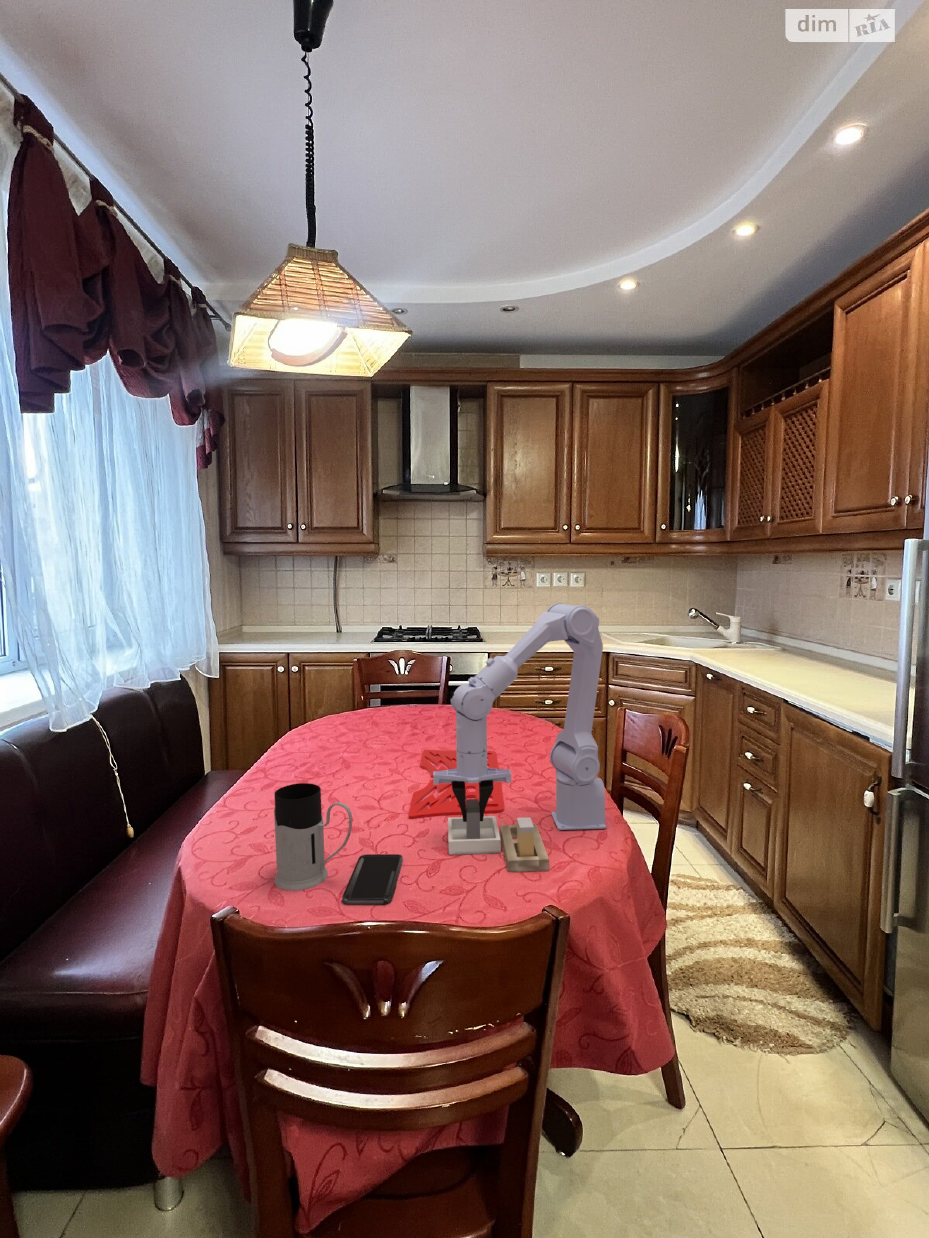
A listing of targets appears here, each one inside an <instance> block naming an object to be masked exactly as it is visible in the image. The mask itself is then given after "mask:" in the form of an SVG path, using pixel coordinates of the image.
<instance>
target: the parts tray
mask: <svg viewBox="0 0 929 1238" xmlns="http://www.w3.org/2000/svg"><path fill="white" fill-rule="evenodd" d="M497 822H498V821H497V817H496V815H494V816H493V815H489V816H488V815H487V816H483V821H480V839H467V836H466V822H463V816H459V817H457V816H456V817H447V835H448V836H447V838H448V839H447V840H448V843H447V844H448V856H451V855H452V856H455V855H458V856H459V855H461V856H462V855H486V854H487V855H489V854H491V855H492V854H501V853H502V852H501V850H502V848H501V845H502V842H501V837H500V829H499V826H498V823H497Z"/></svg>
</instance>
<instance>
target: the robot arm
mask: <svg viewBox="0 0 929 1238" xmlns="http://www.w3.org/2000/svg"><path fill="white" fill-rule="evenodd" d="M599 626H600V617H598V616H597V614H596V613H595V612H594V611H593V610H592V609H591V608H590V607H588V606H587V605H576V604H574V605H573V604H568V603H567V604H566V603H563V602H556V603H553V604H552V605H550V606H549V607H548V608H547V610H546V611H544V612H542V613H541V614H540V615H539V616H538V618H537V621H536V622H535V623H534V624H533V625H532V626H531V627H530V628H529V629H528V630H527V632H526V633H525V634H524V635H523V636H522V637H521V638H520V639H519V640H518V641H517V642H516V643H515V645H514V646H513V647H512V648H511V649H510V650H509V651H508V652H506V654H505V655H495V656H494V657H489V658H488V659H487V660H486V661H485V663H486V665H485V666H484V667H483V668H482V669H481V670H480V671H479V672H477V673H476V675H474V676H470V678H468V680H467V681H468V683H465V684H461V685H459V686H458V687H457V688H456V689H455V691H454V692H453V695H452V698H450V705H451V706H452V708H453V710H454V711H455V718H456V723H455V724H456V725H455V733H456V735H455V738H456V739H455V741H456V743H455V745H456V747H455V748H456V751H457V769H451V770H450V769H449V770H444V771H434V772H433V778H432V779H433V784H434V785H439V783H452V790H453V793H454V795H455V797H456V799H457V801H458V803H459V806H460V809H461V812H462V815H461V817H463V822H467V815H466V792H467V789H466V790H465V783H478V782H479V806H480V821H483V816H484V815H485V814H484V812H485V808H486V805H487V802H489V800H490V798H489V797H490V795H491V794H492V791H493V788H494V787H493V782H501V783H502V782H503V783H504V782H505V783H507V784H510V783H512V772H511V769H509V768H508V769H506V768H505V769H504V768H499V769H494V768H489V767H488V766H487V761H488V759H487V751H488V730H487V729H488V728H487V727H488V725H487V716H488V715H490V713H491V711H492V709H493V703H494V702H495V700H496V699H497V698H498V697H499V696H500V695H501V694H502V693H504V691H506V690H507V688H508V687H509V686H511V684H513V682H514V681H516V680H517V679H518V673H519V671H518V670H519V668H520V667H521V666H522V665H523V664H525V663H526V662H527V661H528V660H529V659H530V658H532V657H533V656H534V655H535V654H536V653H538V652H539V651H540V650H541V649H542V648H543V647H544V646H546V644H548V643H550V642H557V641H558V642H559V641H564V642H565V643H566V644H567V646H569V647H570V649H571V651H572V652H573V657H572V658H573V659H572V664H571V665H572V666H571V674H570V680H569V681H570V682H569V687H568V688H569V689H568V694H567V695H568V696H567V703H566V704H567V705H566V711H565V718H564V726H563V729H562V730H561V731H559V732H558V733H557V735H556V739H555V741H554V745H553V746H552V748H551V750H550V753H549V762H550V764H551V766H552V767H553V768H554V769H555V777H556V778H555V811H551V813H550V814H551V817H552V818H553V822H554V823H555V826H556V827H557V830H558V831H565V830H566V831H569V830H571V831H572V830H574V831H575V830H596V829H597V830H598V829H599V830H600V829H601V830H602V829H606V828H607V825H606V793H605V792H606V791H605V784H604V782H603V780H602V778H600V777H597V776H598V775H599V773H600V765H601V764H600V760H599V757H598V755H599V754H598V751H599V746H598V745H597V741H596V740H595V739H594V737H593V735H592V731H593V730H592V729H593V725H594V724H593V723H594V719H595V718H594V717H595V709H596V702H597V696H598V695H597V694H598V689H599V687H598V686H599V679H600V673H601V666H602V658H603V649H604V643H603V641H602V637H601V633H600V629H599Z"/></svg>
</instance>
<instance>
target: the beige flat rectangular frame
mask: <svg viewBox="0 0 929 1238" xmlns="http://www.w3.org/2000/svg"><path fill="white" fill-rule="evenodd" d="M532 824H533V827H534V856H531V857H518V856H517V824H501V825H499V835H500V840H501V845H502V850H503V855H504V859H505V860H504V861H505V865H506V868H507V872H508V873H518V872H541V871H542V872H543V871H547V872H548V871H549V870H550V858H549V856H548V853H547V850H546V848H545V845H544V842H543V838H542V836H541V834H540V832H539V829H538V826H537V825H538V824H536V823H532ZM515 838H516V839H515Z"/></svg>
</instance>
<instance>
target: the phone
mask: <svg viewBox="0 0 929 1238" xmlns="http://www.w3.org/2000/svg"><path fill="white" fill-rule="evenodd" d="M403 861H404V859H403V855H402V854H399V853H397V854H395V853H394V854H392V853H391V854H388V853H387V854H386V853H385V854H381V853H380V854H373V853H372V854H371V853H370V854H368V853H367V854H362V855H360V856H359V857H358V859H357V862H356V864H355V865H354V869H353V871H352V873H351V876H350V877H349V879H348V880H349V881H348V882H347V884H346V887H345V889H344V892H343V893H342V898H341V899H342V900H341V901H342V904H343V905H346V906H387V905H389V904H391V903H392V901H393V898H394V894H395V891H396V889H397V885H398V884H397V883H398V879H399V876H400V873H401V868H402V866H403V865H402V864H403Z"/></svg>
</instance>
